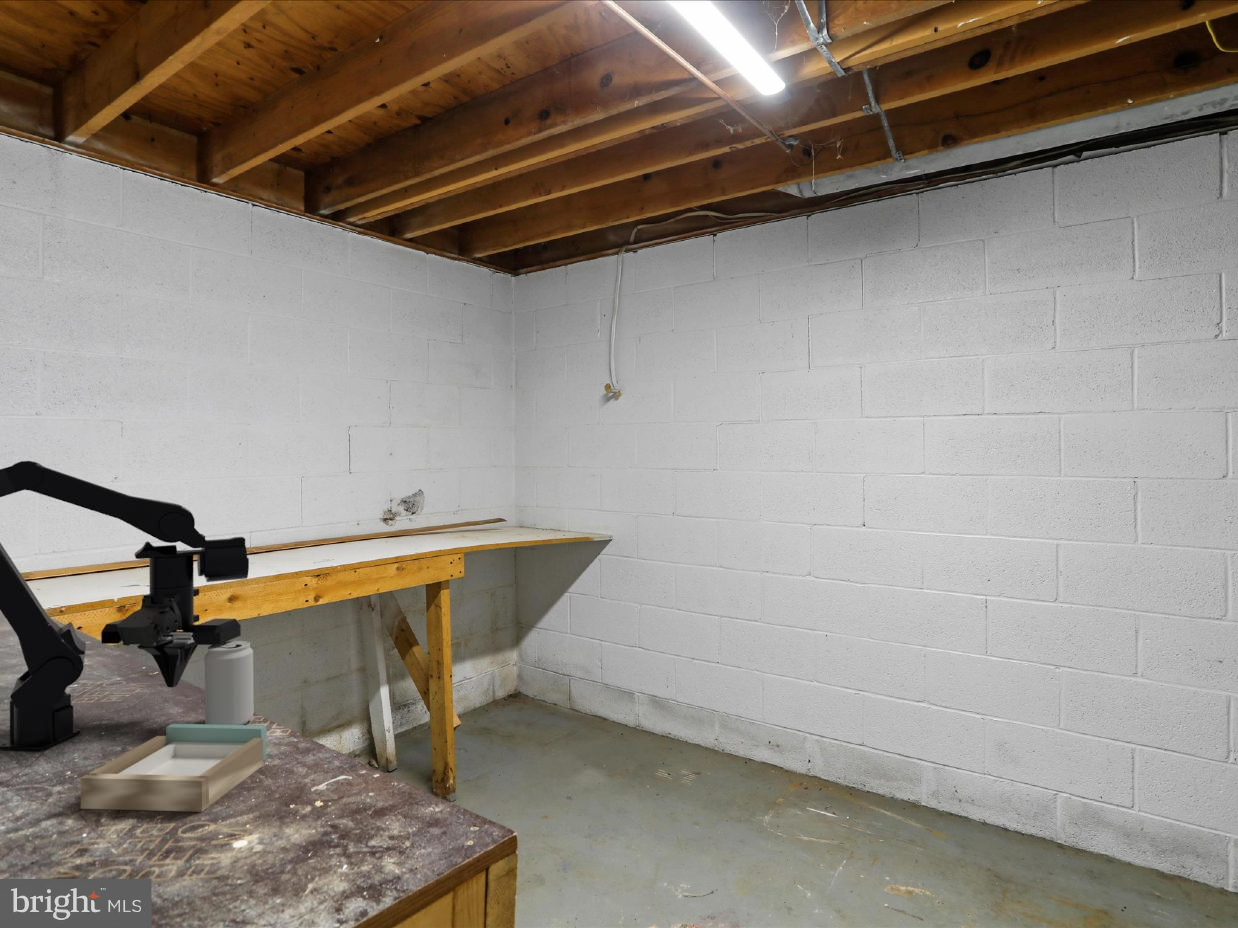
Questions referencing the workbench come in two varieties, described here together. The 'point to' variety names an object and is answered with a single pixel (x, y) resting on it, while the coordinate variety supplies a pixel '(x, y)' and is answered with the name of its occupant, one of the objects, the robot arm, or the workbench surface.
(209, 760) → the tray
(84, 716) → the workbench surface
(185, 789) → the dock
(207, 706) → the beverage can
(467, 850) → the workbench surface
